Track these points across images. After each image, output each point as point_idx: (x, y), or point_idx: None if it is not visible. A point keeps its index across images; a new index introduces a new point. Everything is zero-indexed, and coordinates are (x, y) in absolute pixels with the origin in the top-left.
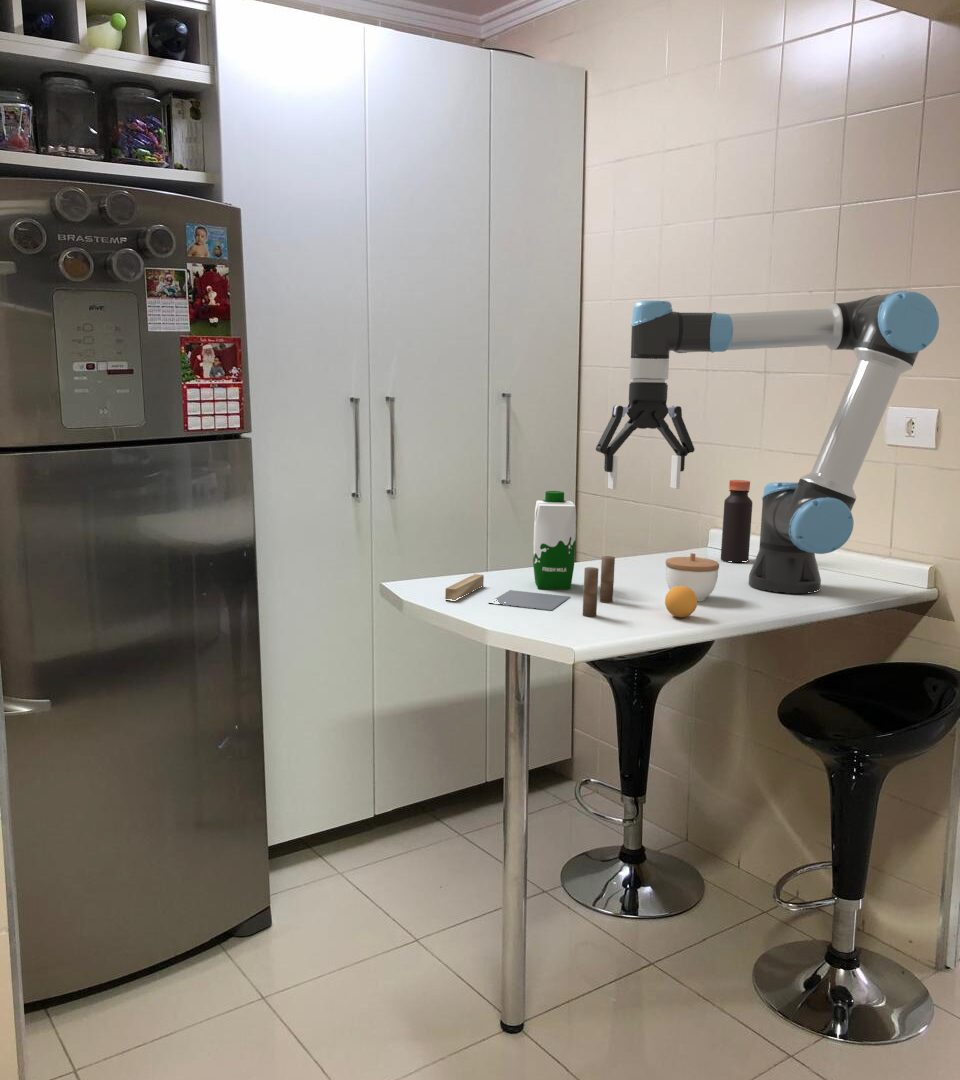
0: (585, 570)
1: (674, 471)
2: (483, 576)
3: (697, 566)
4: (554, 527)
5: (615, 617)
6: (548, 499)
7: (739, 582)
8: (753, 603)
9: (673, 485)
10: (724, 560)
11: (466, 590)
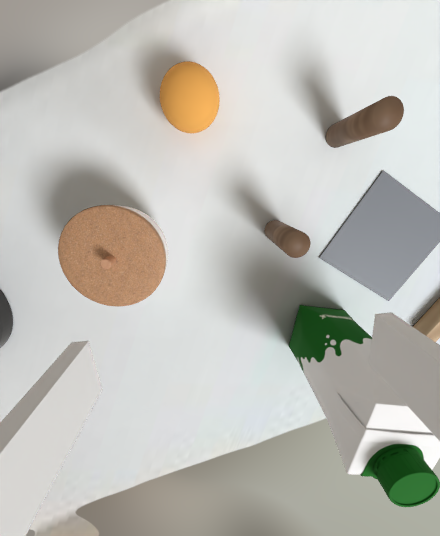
0: (400, 111)
1: (50, 428)
2: (424, 334)
3: (115, 208)
4: None
5: (300, 117)
6: (423, 459)
7: (24, 342)
8: (35, 201)
9: (90, 371)
10: None
11: None
